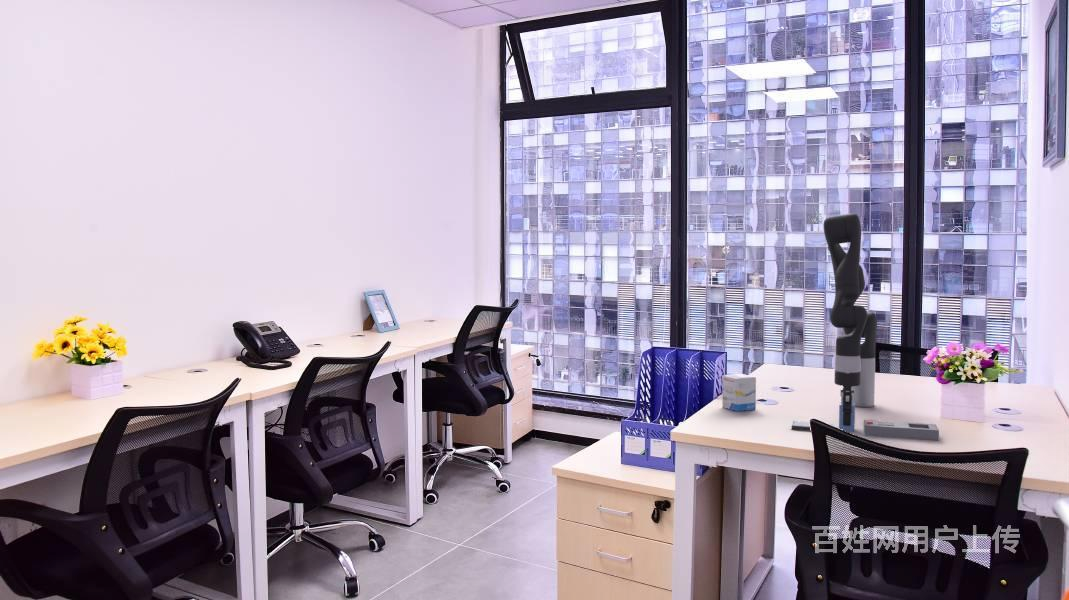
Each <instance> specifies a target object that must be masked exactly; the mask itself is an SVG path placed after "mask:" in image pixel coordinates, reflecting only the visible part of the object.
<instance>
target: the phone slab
mask: <svg viewBox="0 0 1069 600" xmlns="http://www.w3.org/2000/svg"><path fill="white" fill-rule="evenodd" d="M809 422H810V421H798V420H793V421H792V422H791V423H792V424H791V430H795V431H807V432H808V431H809V432H811V431H810V426H809ZM827 423H828V424H830V425H832V426H833V427H834V423H832V422H831V423H830V422H827Z"/></svg>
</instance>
